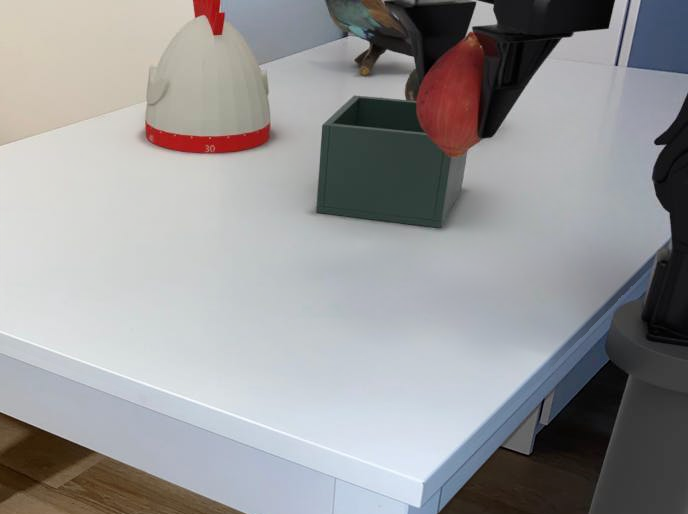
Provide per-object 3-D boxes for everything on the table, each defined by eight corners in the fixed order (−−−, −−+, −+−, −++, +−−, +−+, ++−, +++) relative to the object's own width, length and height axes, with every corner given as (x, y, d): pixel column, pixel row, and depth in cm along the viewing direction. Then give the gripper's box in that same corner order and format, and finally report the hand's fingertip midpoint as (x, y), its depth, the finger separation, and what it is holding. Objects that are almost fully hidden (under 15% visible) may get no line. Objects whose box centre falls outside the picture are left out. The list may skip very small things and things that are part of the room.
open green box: (461, 190, 96) (474, 106, 91) (440, 228, 88) (454, 137, 83) (346, 177, 99) (353, 95, 95) (315, 212, 91) (322, 124, 86)
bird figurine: (460, 60, 139) (400, -87, 130) (453, 77, 132) (389, -78, 123) (373, 107, 146) (311, -30, 137) (362, 125, 138) (296, -18, 130)
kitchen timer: (245, 115, 118) (249, -31, 109) (288, 146, 108) (297, -12, 98) (131, 124, 114) (126, -26, 105) (165, 157, 104) (162, -6, 95)
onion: (402, 163, 69) (418, 34, 64) (419, 141, 73) (435, 19, 68) (487, 173, 67) (510, 41, 62) (499, 150, 71) (522, 25, 66)
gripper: (303, -156, 63) (289, 107, 73) (490, -140, 50) (442, 179, 59) (447, -158, 67) (415, 92, 76) (655, -143, 54) (585, 157, 63)
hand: (456, 126), depth 69 cm, fingers closed on onion, 6 cm apart
